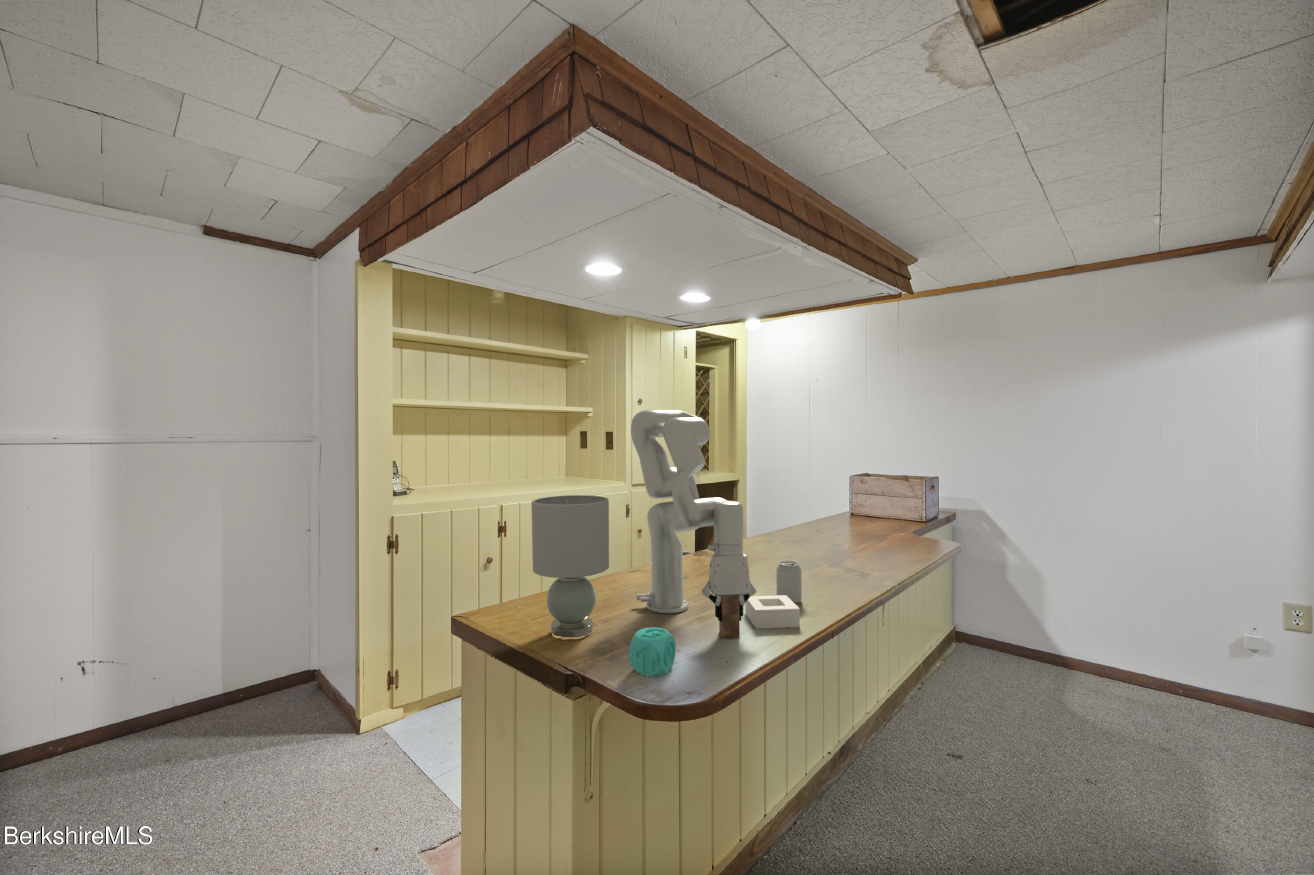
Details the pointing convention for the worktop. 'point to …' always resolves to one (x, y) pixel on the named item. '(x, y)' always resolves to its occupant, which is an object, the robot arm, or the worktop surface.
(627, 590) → the worktop surface
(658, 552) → the robot arm
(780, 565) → the can
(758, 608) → the socket block
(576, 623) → the lamp
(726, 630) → the peg
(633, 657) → the decorative dice
